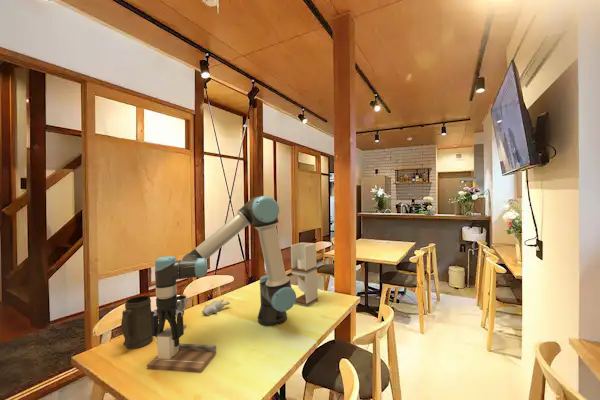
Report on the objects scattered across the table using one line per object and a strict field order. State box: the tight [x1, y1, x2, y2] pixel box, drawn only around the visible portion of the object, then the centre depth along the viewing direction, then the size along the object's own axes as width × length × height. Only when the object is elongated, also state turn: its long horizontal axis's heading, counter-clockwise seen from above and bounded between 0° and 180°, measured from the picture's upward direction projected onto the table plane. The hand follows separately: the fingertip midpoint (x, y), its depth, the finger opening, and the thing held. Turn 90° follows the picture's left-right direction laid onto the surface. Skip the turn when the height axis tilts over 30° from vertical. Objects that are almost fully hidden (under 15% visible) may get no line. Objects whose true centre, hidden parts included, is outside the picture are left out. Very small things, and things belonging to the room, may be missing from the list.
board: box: [146, 342, 217, 374], centre depth 106 cm, size 22×12×4 cm, turn 81°
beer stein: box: [120, 295, 154, 350], centre depth 119 cm, size 15×11×20 cm
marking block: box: [156, 327, 179, 359], centre depth 108 cm, size 5×6×9 cm
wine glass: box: [175, 294, 187, 330], centre depth 134 cm, size 8×8×15 cm
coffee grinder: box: [290, 242, 319, 308], centre depth 163 cm, size 11×11×35 cm
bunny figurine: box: [201, 299, 230, 316], centre depth 154 cm, size 10×5×15 cm
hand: (168, 353), depth 108 cm, fingers closed on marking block, 5 cm apart
